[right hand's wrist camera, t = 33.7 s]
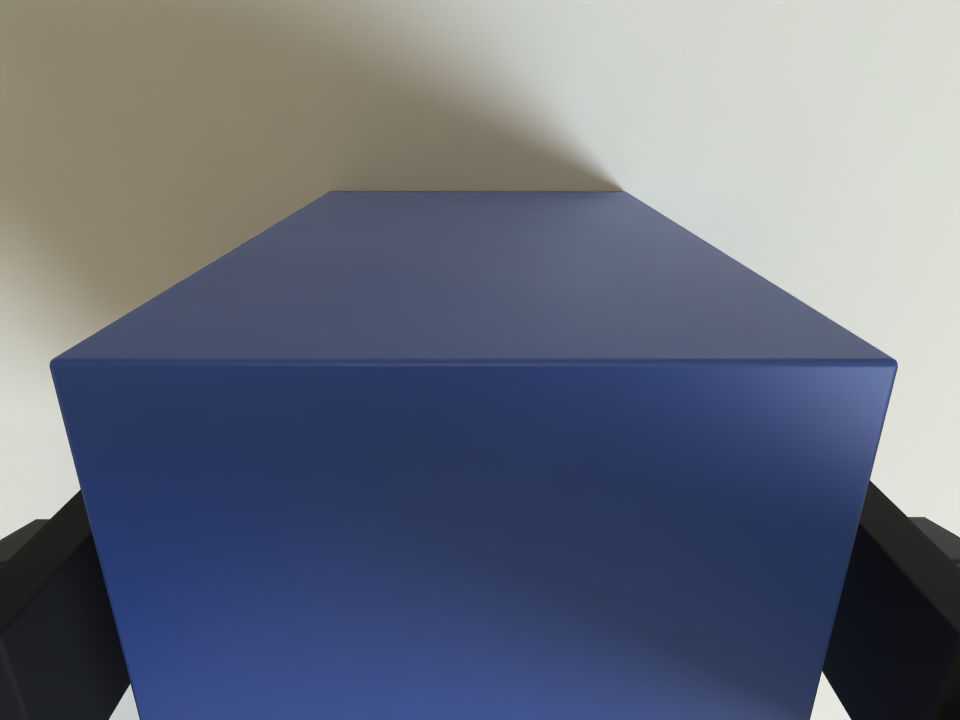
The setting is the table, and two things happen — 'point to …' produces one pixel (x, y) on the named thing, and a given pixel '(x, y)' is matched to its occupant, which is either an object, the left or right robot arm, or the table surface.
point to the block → (474, 469)
